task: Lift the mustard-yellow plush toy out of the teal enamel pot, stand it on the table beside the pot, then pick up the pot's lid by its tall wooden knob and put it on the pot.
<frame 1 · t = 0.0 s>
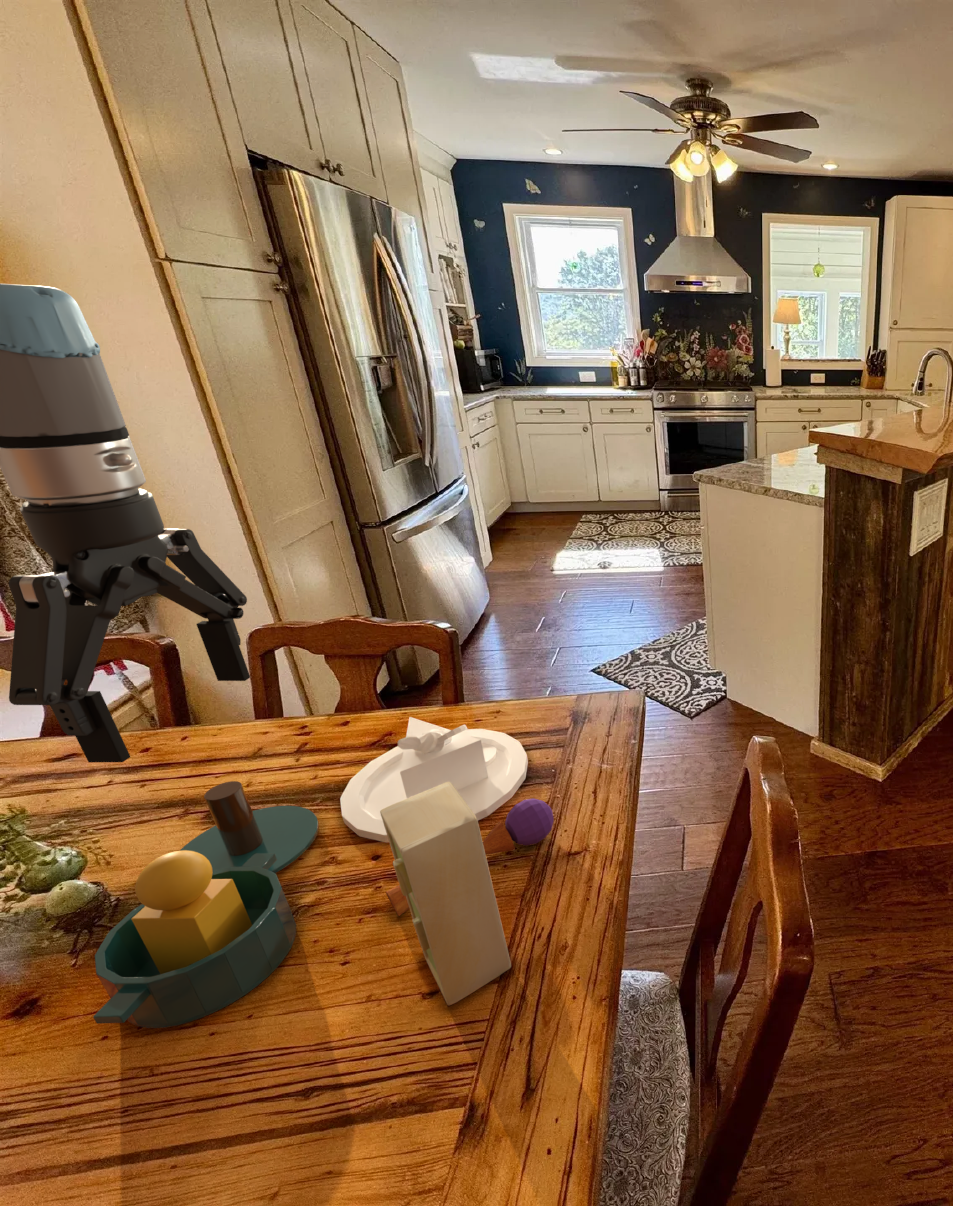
hand: (178, 715, 60), 30 cm above the table, tool pointing down, fingers open, 13 cm apart
dish: (440, 783, 98), on the table
toy: (212, 959, 69), resting on pot
lid: (247, 849, 84), point 1 cm above the table
toy refrigerator: (464, 966, 70), on the table
kendama: (480, 868, 83), on the table
pot: (214, 962, 70), on the table
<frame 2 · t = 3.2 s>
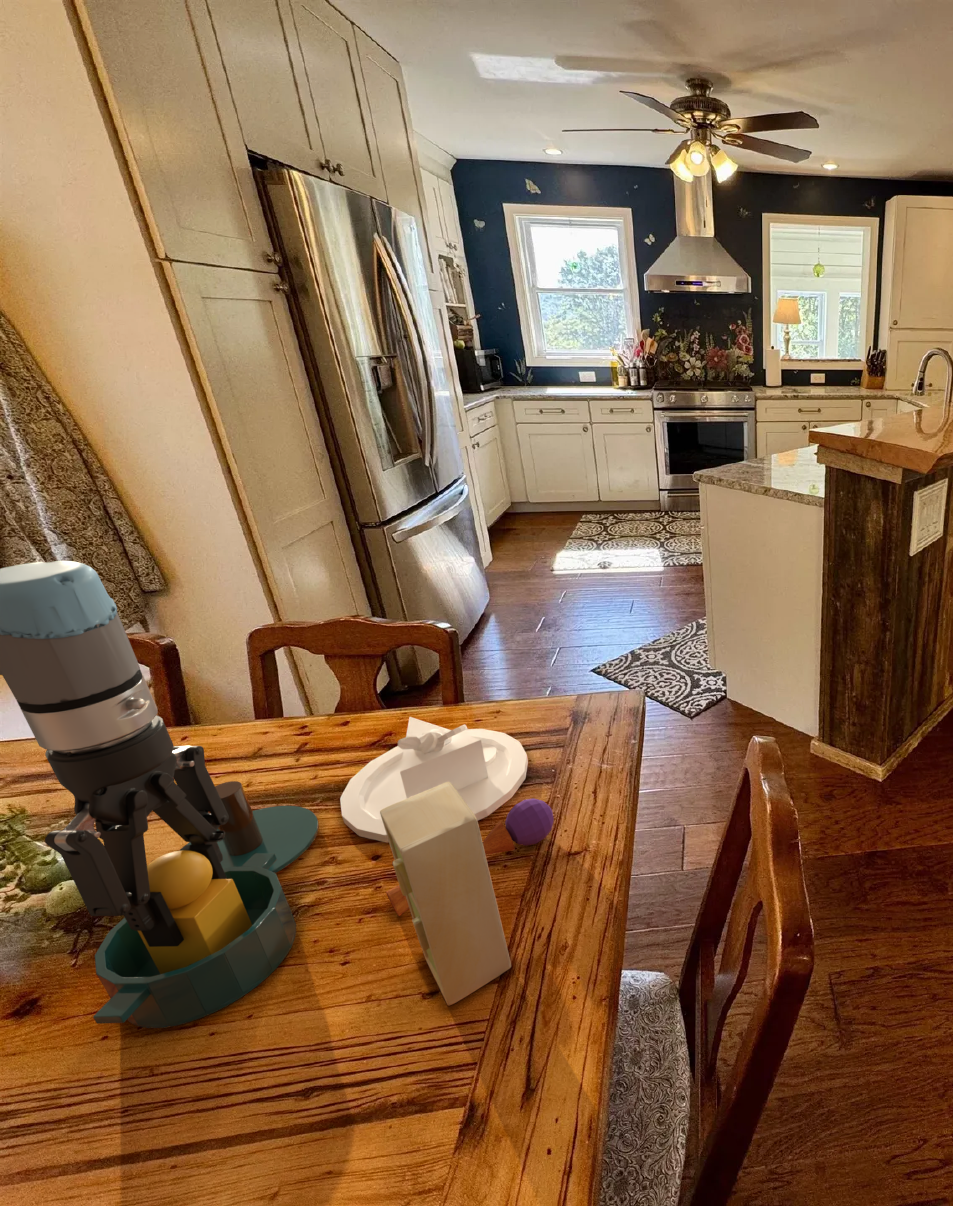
hand: (192, 916, 67), 7 cm above the table, tool pointing down, fingers closed on toy, 5 cm apart
toy: (212, 959, 69), point 1 cm above the table, touching gripper, pot
everything else where it was.
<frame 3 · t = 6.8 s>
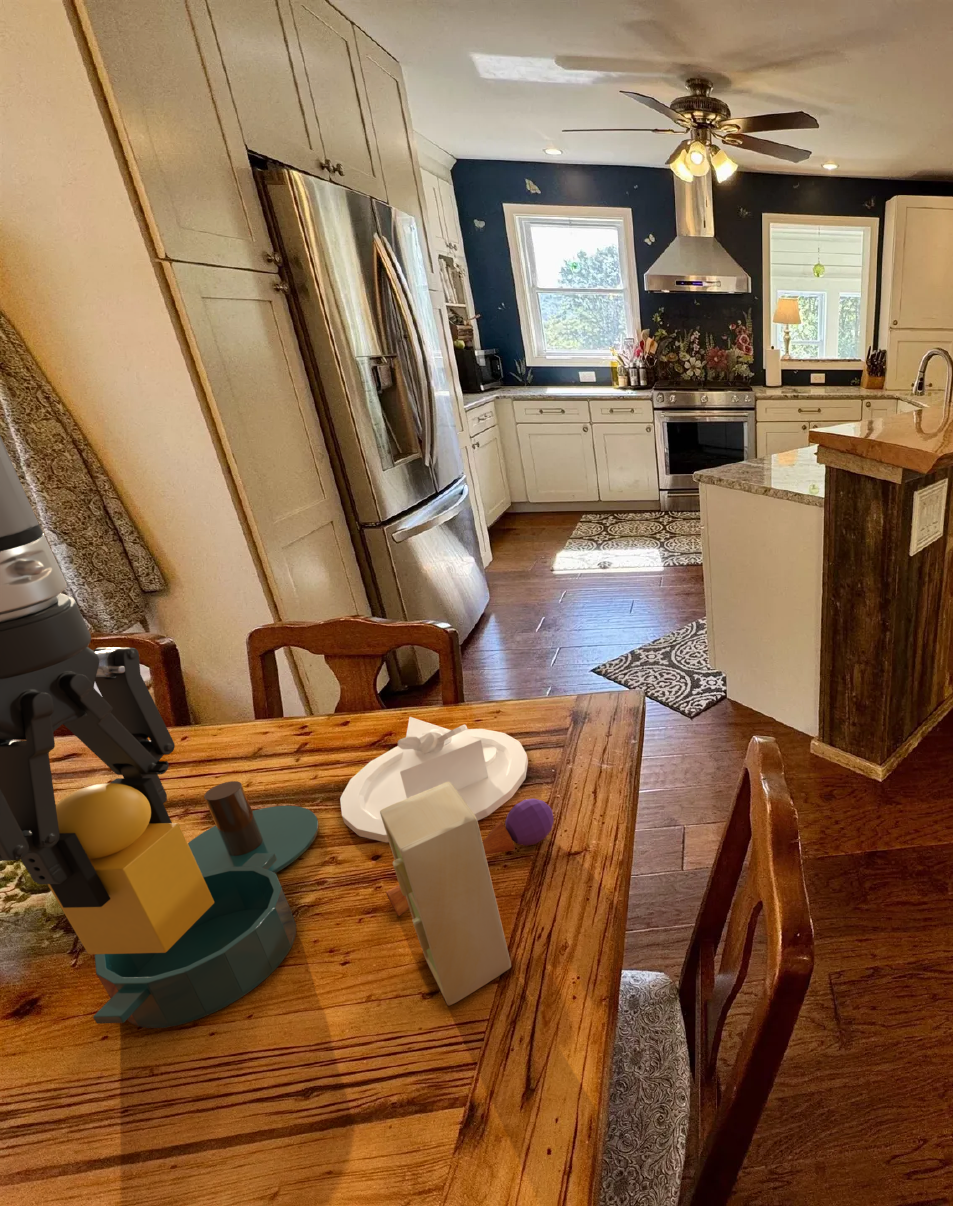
hand: (125, 871, 51), 24 cm above the table, tool pointing down, fingers closed on toy, 5 cm apart
toy: (154, 927, 54), point 17 cm above the table, touching gripper
everything else where it was.
when the fingers open (6 cm above the table, at t = 10.8 s): toy stays where it is, on the table.
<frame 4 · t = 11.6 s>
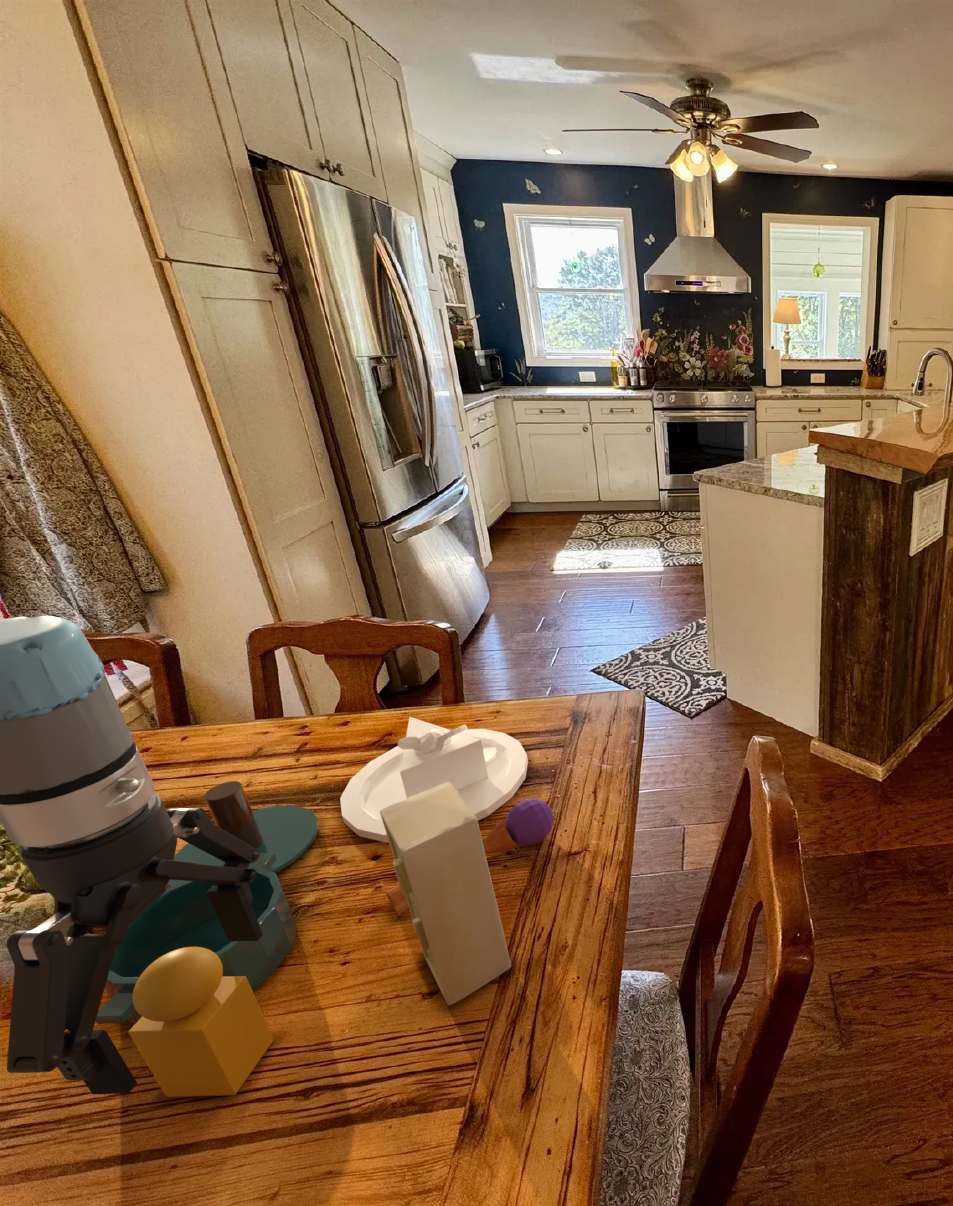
hand: (188, 1005, 57), 9 cm above the table, tool pointing down, fingers open, 13 cm apart
toy: (222, 1067, 60), on the table
everything else where it was.
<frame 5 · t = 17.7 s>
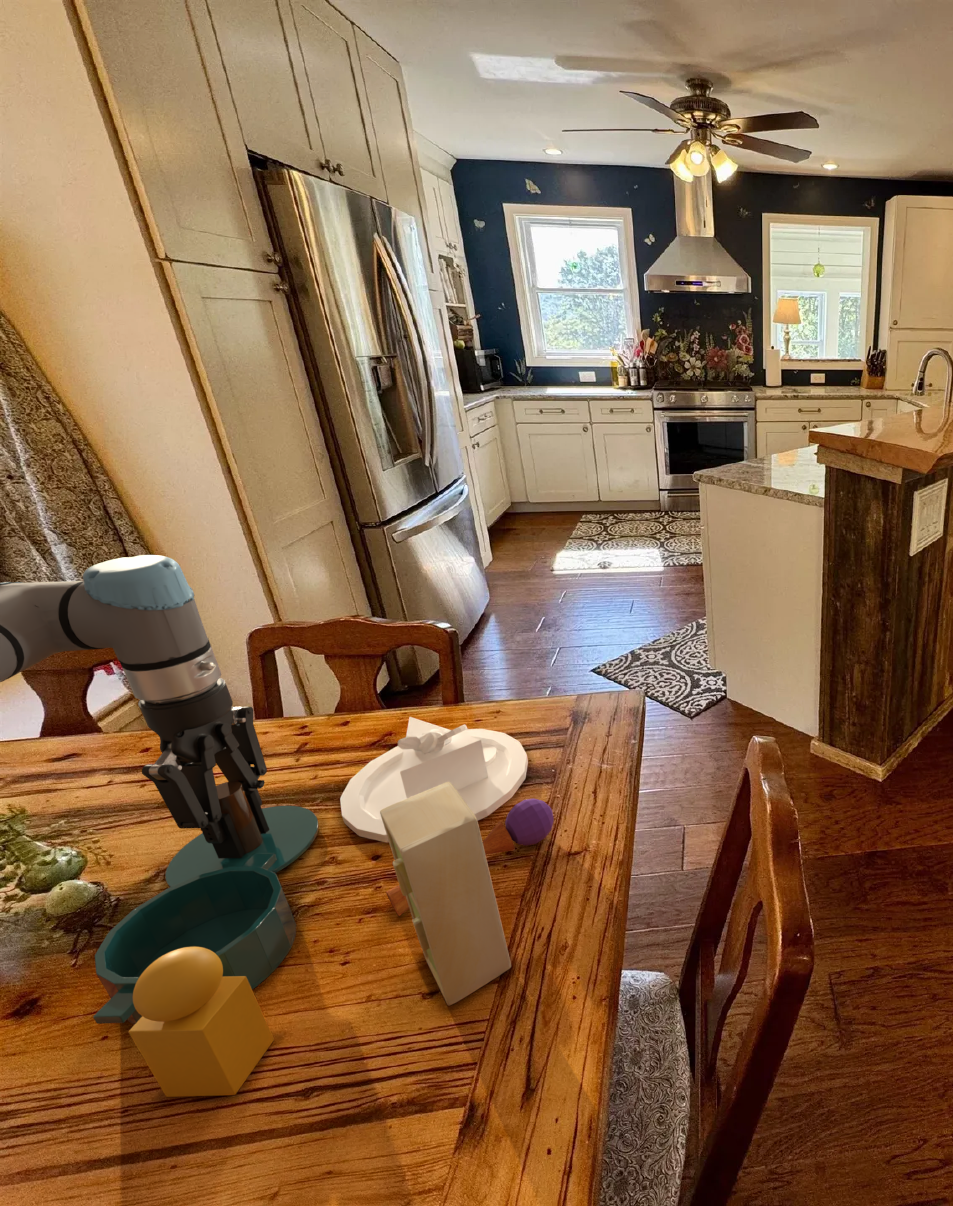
hand: (244, 843, 83), 2 cm above the table, tool pointing down, fingers closed on lid, 4 cm apart
lid: (247, 849, 84), point 1 cm above the table, touching gripper
everything else where it was.
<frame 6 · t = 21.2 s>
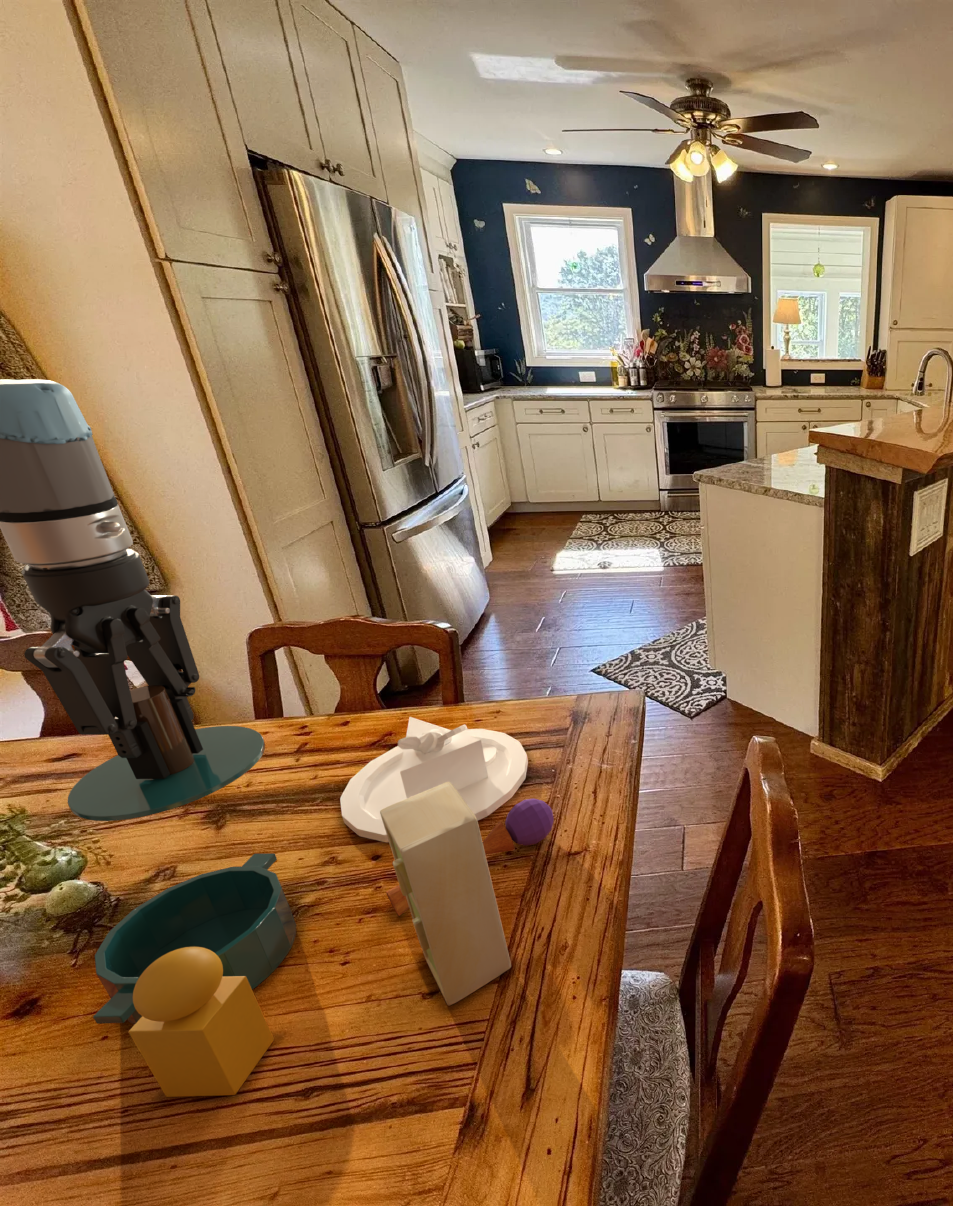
hand: (170, 763, 68), 21 cm above the table, tool pointing down, fingers closed on lid, 4 cm apart
lid: (174, 770, 69), point 20 cm above the table, touching gripper
everything else where it was.
when the fingers open (7 cm above the table, at t = 25.2 s): lid stays where it is, resting on pot.
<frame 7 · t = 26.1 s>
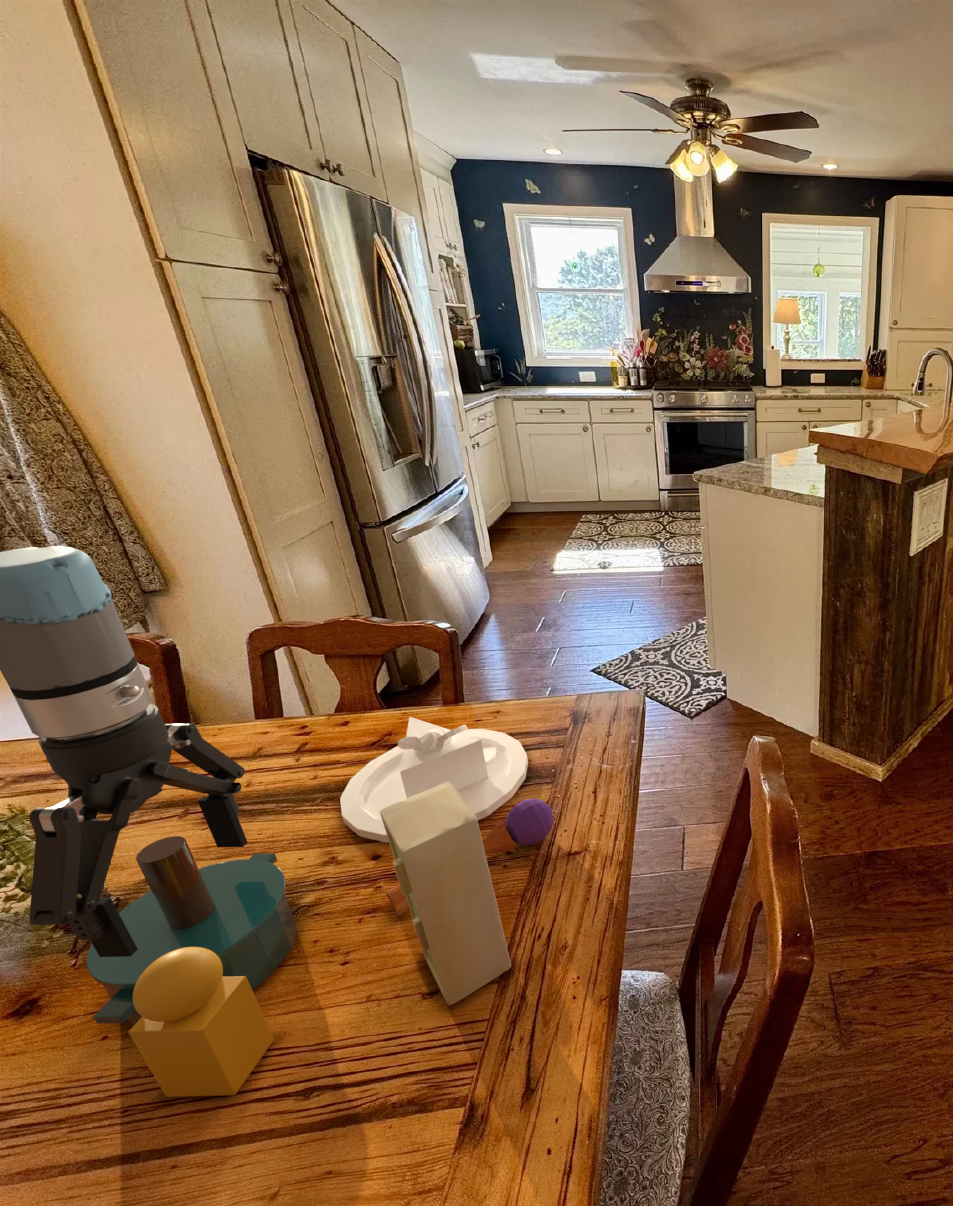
hand: (181, 894, 66), 10 cm above the table, tool pointing down, fingers open, 13 cm apart
lid: (194, 919, 67), point 6 cm above the table, touching pot
everything else where it was.
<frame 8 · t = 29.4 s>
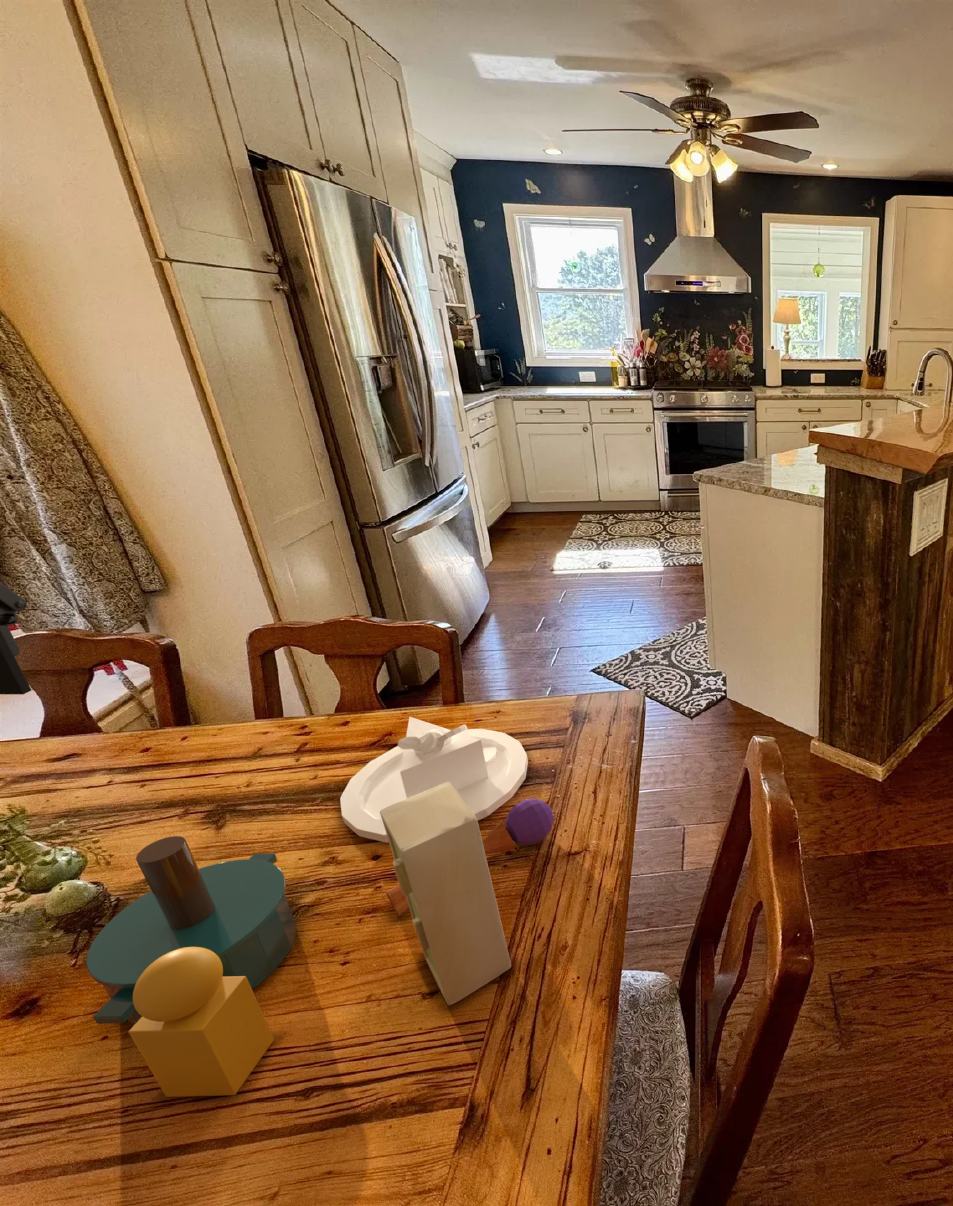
nothing on the table moved.
at the end: toy inside the target area (0.2 cm from its centre), on the table; lid 0.1 cm off-centre on the pot, point 6.5 cm above the pot's base; lid tilted 0° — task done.
